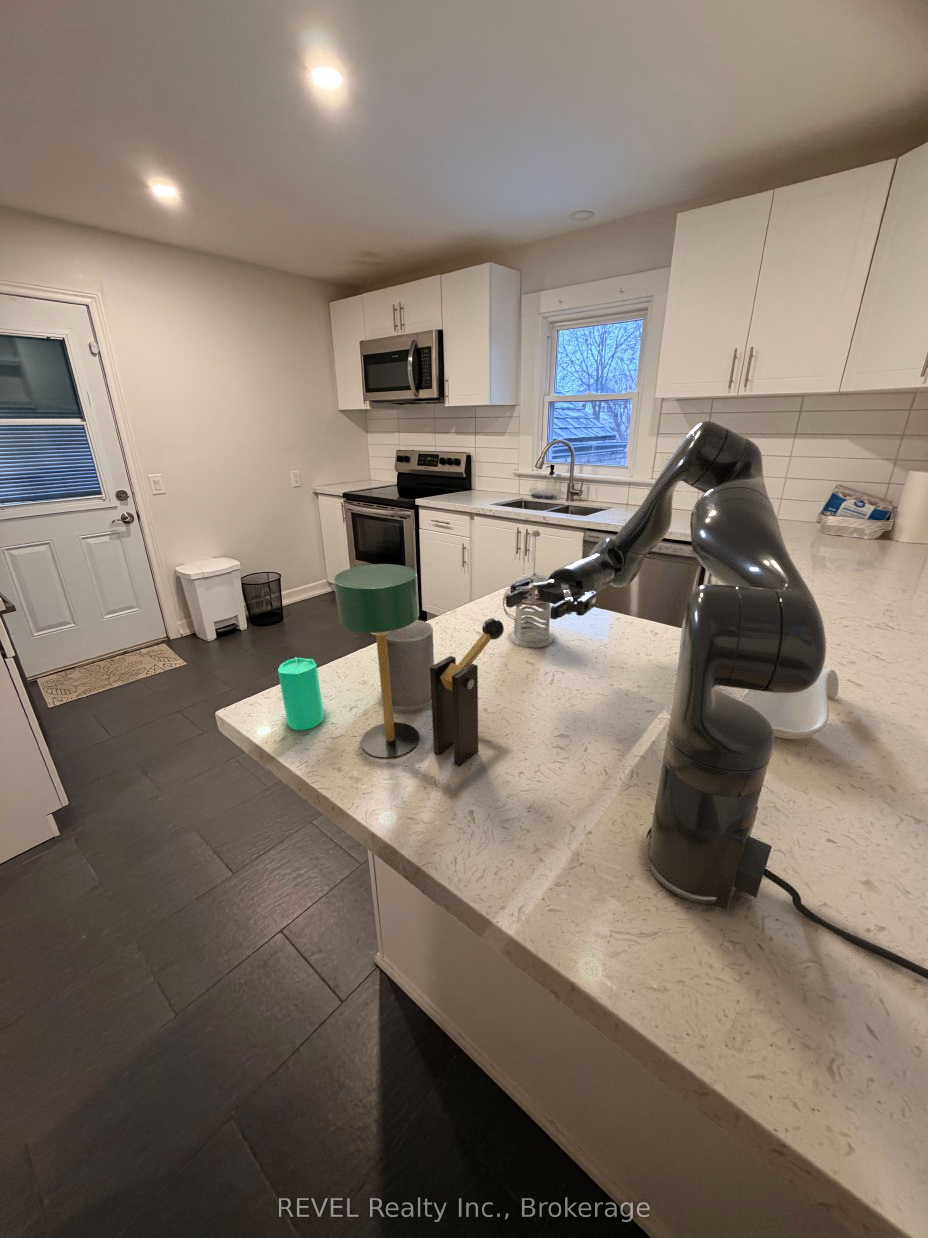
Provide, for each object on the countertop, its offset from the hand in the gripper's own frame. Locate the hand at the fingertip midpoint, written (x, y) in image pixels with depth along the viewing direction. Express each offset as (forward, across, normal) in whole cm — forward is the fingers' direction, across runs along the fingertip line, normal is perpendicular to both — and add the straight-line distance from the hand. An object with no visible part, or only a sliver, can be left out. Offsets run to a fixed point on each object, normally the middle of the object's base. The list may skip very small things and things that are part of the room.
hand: (529, 607), depth 80 cm
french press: (-24, -15, +19) cm, 34 cm away
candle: (+27, -27, +19) cm, 43 cm away
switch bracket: (+19, 0, +18) cm, 27 cm away
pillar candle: (+11, -18, +19) cm, 28 cm away
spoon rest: (-25, +37, +19) cm, 48 cm away
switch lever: (+14, 0, +4) cm, 14 cm away
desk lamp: (+23, -8, +18) cm, 31 cm away
